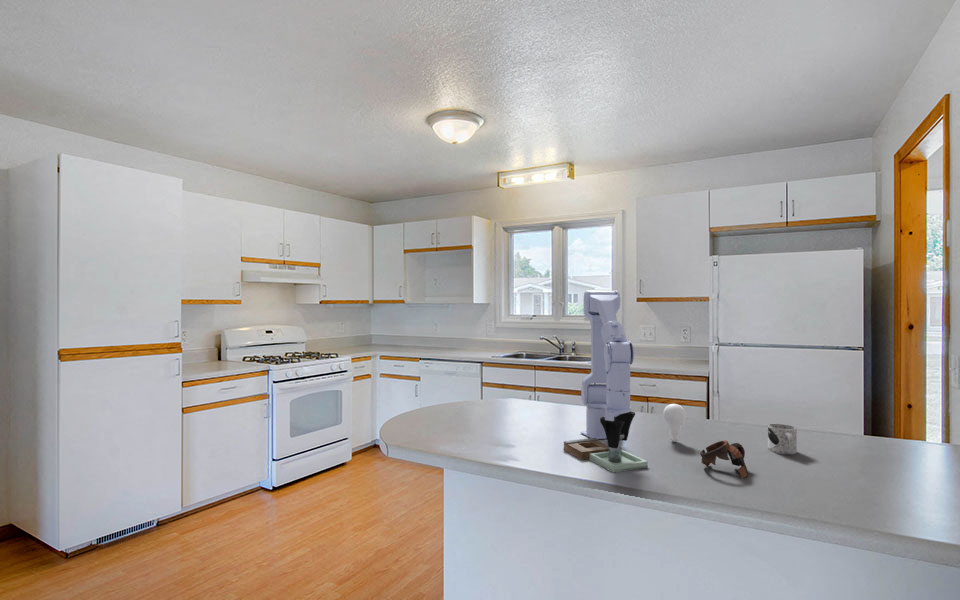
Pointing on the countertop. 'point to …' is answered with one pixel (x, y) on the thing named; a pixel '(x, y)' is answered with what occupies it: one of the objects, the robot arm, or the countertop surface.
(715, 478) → the countertop surface
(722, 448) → the brown curved strap
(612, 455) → the pin
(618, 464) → the tray
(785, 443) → the mug
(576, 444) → the block
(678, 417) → the lightbulb
